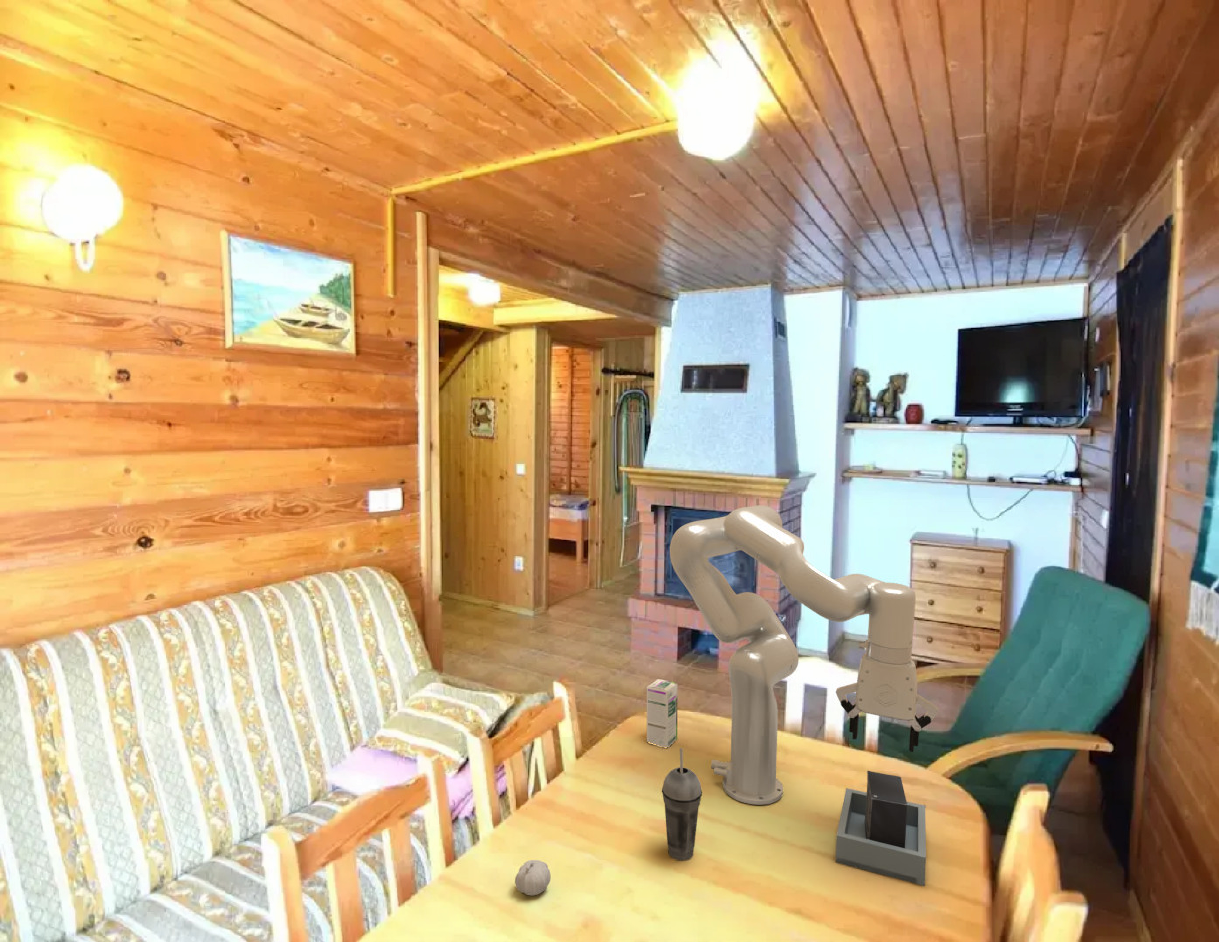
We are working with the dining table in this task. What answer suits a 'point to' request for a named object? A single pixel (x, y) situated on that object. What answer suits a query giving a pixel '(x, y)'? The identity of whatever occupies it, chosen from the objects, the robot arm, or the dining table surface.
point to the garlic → (533, 877)
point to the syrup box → (662, 712)
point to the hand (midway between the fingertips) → (882, 742)
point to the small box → (885, 809)
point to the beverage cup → (681, 810)
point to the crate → (880, 855)
